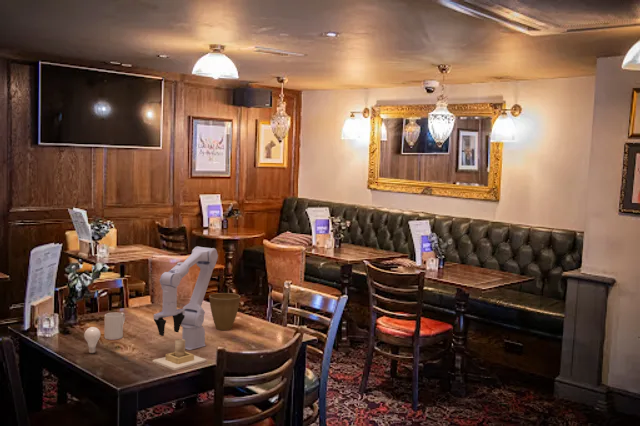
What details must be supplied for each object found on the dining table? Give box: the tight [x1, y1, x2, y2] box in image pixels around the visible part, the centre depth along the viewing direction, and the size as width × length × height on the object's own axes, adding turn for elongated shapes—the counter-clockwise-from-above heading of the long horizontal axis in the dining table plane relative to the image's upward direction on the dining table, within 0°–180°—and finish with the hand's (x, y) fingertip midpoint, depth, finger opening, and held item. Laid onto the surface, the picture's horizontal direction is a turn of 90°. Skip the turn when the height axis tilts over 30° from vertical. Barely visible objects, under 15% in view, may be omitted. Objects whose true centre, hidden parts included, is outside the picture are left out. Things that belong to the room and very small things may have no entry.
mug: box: [103, 311, 126, 341], centre depth 293 cm, size 12×8×10 cm, turn 165°
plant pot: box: [208, 292, 241, 331], centre depth 314 cm, size 15×15×16 cm
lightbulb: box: [83, 326, 102, 354], centre depth 268 cm, size 6×6×11 cm
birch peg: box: [174, 338, 186, 358], centre depth 262 cm, size 4×4×8 cm
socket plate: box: [152, 351, 208, 371], centre depth 262 cm, size 16×14×3 cm
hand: (169, 333), depth 268 cm, fingers open, 7 cm apart
